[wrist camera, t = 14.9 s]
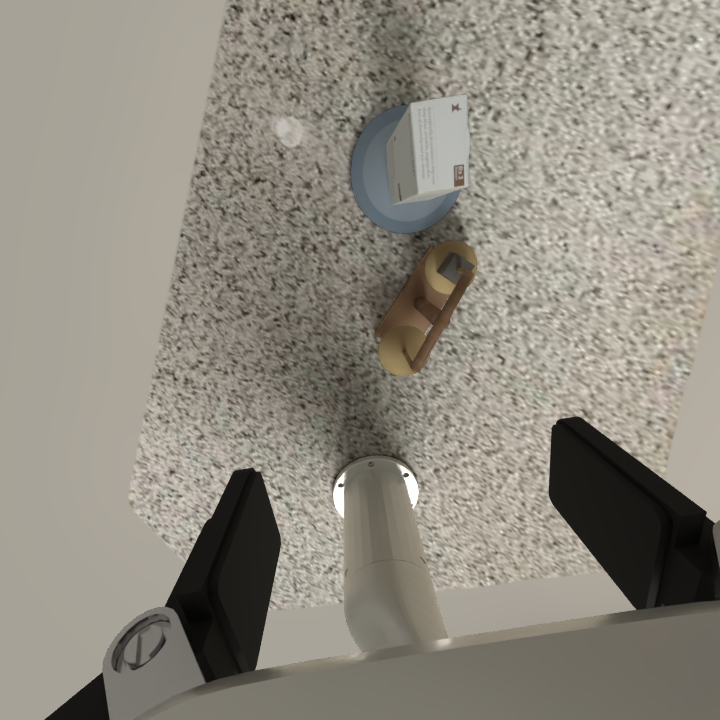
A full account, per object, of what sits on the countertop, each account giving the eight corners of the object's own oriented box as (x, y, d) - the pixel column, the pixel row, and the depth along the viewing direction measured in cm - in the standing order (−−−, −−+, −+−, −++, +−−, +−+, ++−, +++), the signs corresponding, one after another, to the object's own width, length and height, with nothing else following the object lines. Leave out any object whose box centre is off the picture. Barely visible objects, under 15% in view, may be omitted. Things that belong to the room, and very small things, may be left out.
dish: (463, 224, 39) (467, 223, 38) (359, 241, 39) (360, 241, 38) (458, 99, 35) (461, 94, 34) (342, 118, 35) (342, 114, 34)
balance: (401, 364, 44) (423, 408, 33) (365, 343, 43) (373, 381, 31) (474, 257, 40) (528, 264, 28) (436, 230, 39) (476, 227, 27)
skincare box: (384, 143, 35) (404, 97, 23) (427, 136, 35) (469, 86, 23) (391, 208, 37) (412, 195, 25) (432, 202, 37) (472, 185, 25)
